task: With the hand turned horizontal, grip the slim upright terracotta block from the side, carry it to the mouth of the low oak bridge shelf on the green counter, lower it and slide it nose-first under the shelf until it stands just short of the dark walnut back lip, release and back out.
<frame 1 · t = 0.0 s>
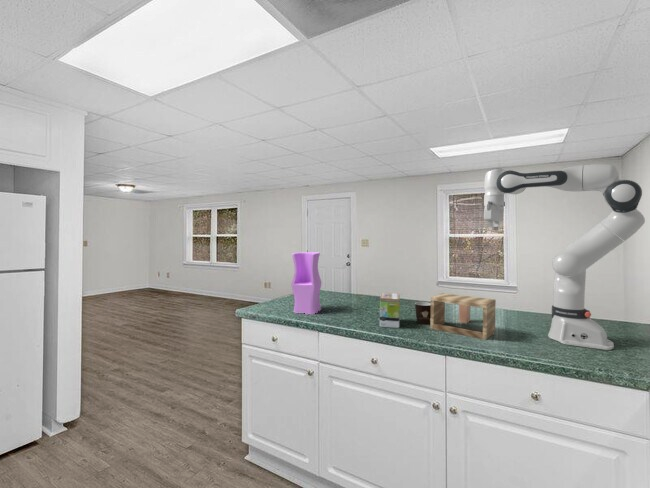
hand: (493, 230, 164), 48 cm above the worktop, tool pointing down, fingers open, 8 cm apart
coffee mug: (426, 323, 172), on the worktop
container: (306, 311, 198), on the worktop
bridge shelf: (462, 330, 159), on the worktop
tea box: (389, 324, 171), on the worktop
block: (464, 321, 175), on the worktop
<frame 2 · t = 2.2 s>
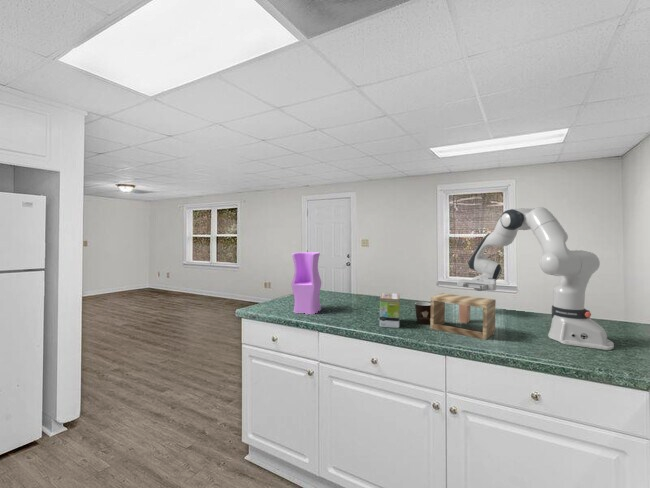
hand: (472, 286, 183), 17 cm above the worktop, tool horizontal, fingers open, 8 cm apart
nothing on the worktop moved.
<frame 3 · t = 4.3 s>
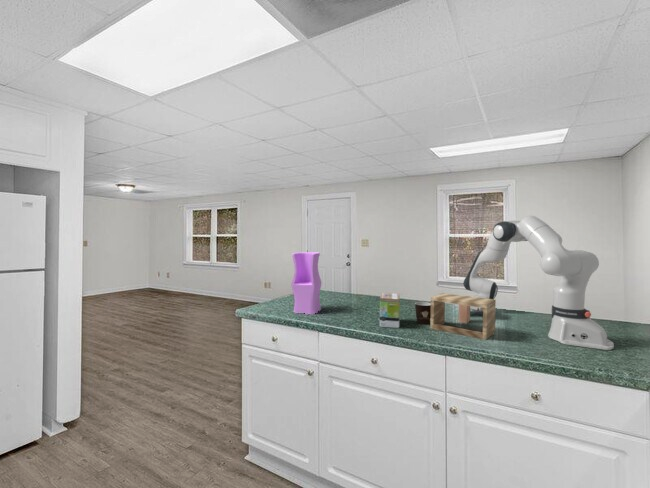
hand: (469, 307, 180), 6 cm above the worktop, tool horizontal, fingers open, 8 cm apart
nothing on the worktop moved.
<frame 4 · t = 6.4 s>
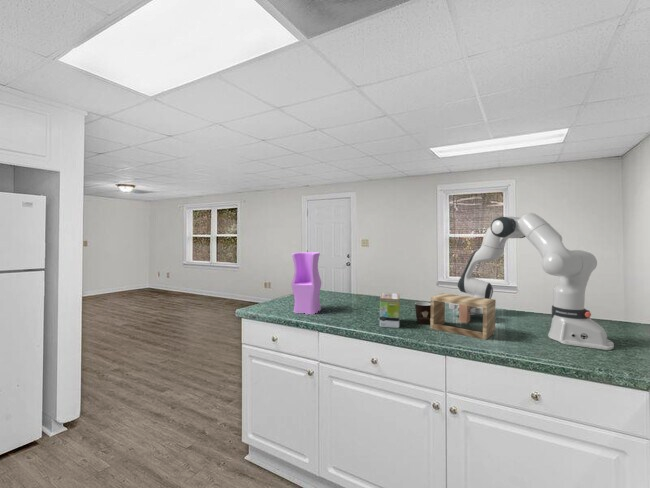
hand: (464, 310, 174), 6 cm above the worktop, tool horizontal, fingers closed on block, 4 cm apart
block: (464, 321, 175), on the worktop, touching gripper
everything else where it was.
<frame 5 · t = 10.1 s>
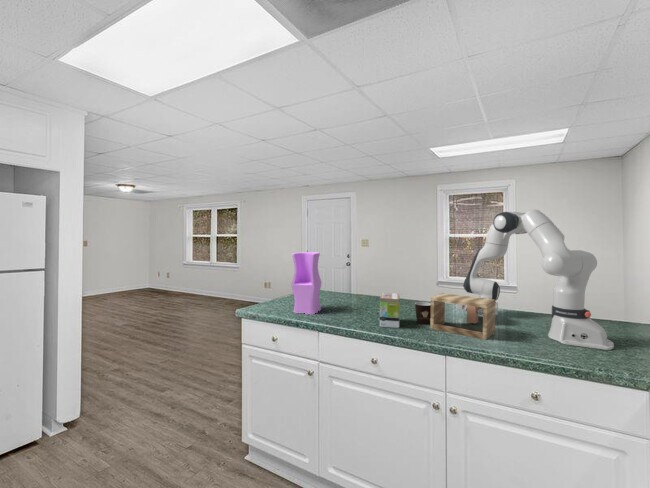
hand: (472, 310, 169), 7 cm above the worktop, tool horizontal, fingers closed on block, 4 cm apart
block: (472, 321, 170), point 1 cm above the worktop, touching gripper
everything else where it was.
when the fingers open (7 cm above the worktop, at t = 14.0 s): block stays where it is, on the worktop.
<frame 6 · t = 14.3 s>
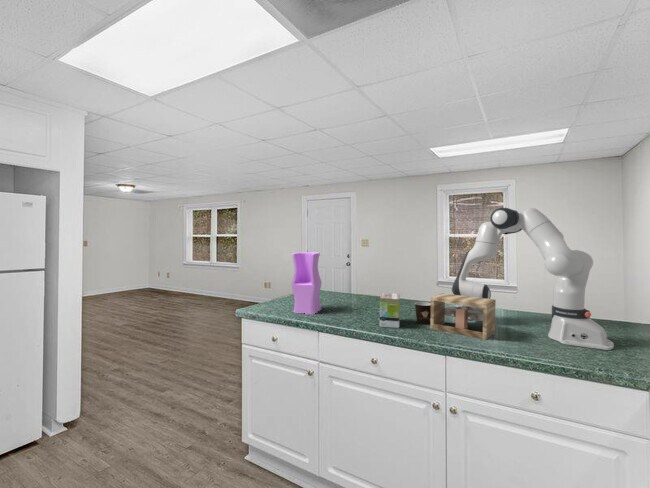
hand: (460, 316, 157), 7 cm above the worktop, tool horizontal, fingers open, 6 cm apart
block: (461, 331, 158), on the worktop
everything else where it was.
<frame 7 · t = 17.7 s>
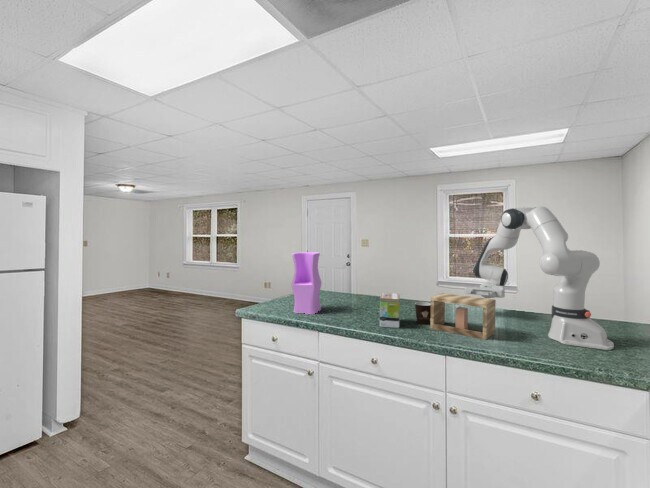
hand: (480, 293, 178), 14 cm above the worktop, tool horizontal, fingers open, 8 cm apart
nothing on the worktop moved.
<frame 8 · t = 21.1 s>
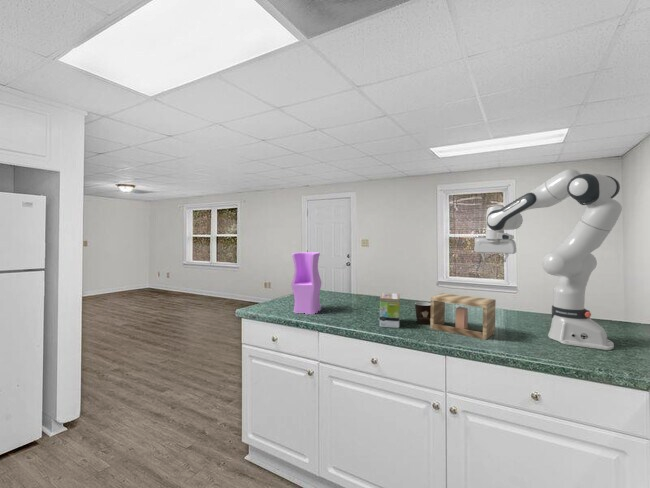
hand: (494, 261, 179), 31 cm above the worktop, tool pointing down, fingers open, 8 cm apart
nothing on the worktop moved.
at the end: block inside the target area (0.5 cm from its centre), on the worktop; block tilted 0°; the gripper is holding nothing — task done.
